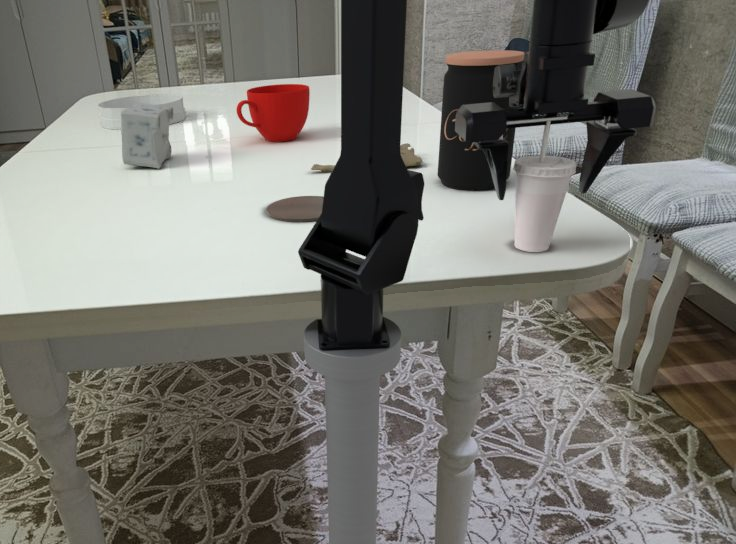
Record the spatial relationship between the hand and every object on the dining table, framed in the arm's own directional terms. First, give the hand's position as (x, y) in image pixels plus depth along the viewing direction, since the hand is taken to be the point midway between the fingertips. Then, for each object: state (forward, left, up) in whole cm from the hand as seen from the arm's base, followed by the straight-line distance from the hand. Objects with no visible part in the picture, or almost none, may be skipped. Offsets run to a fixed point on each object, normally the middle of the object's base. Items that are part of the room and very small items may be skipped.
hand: (541, 195), depth 71 cm
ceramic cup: (+68, +32, -6) cm, 75 cm away
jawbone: (+43, +15, -6) cm, 46 cm away
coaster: (+18, +26, -6) cm, 33 cm away
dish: (+102, +67, -6) cm, 122 cm away
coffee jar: (+28, 0, -6) cm, 28 cm away
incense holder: (+53, +55, -6) cm, 77 cm away
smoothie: (0, 0, -6) cm, 6 cm away
